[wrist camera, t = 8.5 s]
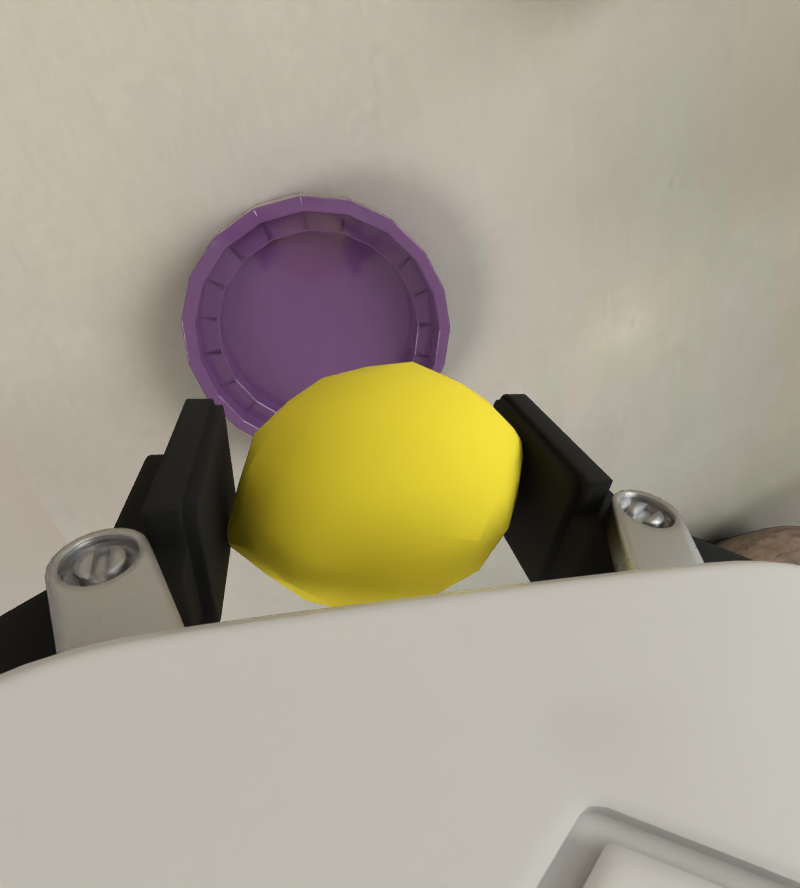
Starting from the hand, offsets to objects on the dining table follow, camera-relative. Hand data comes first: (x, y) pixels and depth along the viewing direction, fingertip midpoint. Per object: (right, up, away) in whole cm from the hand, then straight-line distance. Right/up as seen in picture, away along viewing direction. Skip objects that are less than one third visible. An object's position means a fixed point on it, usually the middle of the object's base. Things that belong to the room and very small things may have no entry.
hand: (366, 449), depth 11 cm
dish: (-4, +7, +13) cm, 15 cm away
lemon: (0, +1, +1) cm, 1 cm away
